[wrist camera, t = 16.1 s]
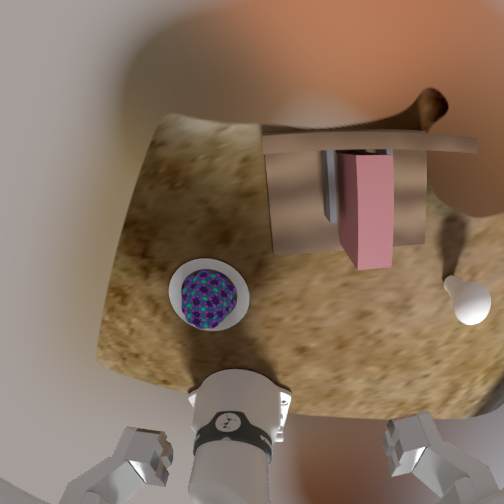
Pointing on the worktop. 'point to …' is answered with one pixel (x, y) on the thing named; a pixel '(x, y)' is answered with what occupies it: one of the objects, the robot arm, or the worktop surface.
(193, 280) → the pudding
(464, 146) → the shelf stand
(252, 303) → the worktop surface
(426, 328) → the worktop surface
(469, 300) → the lightbulb
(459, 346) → the worktop surface
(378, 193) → the book
